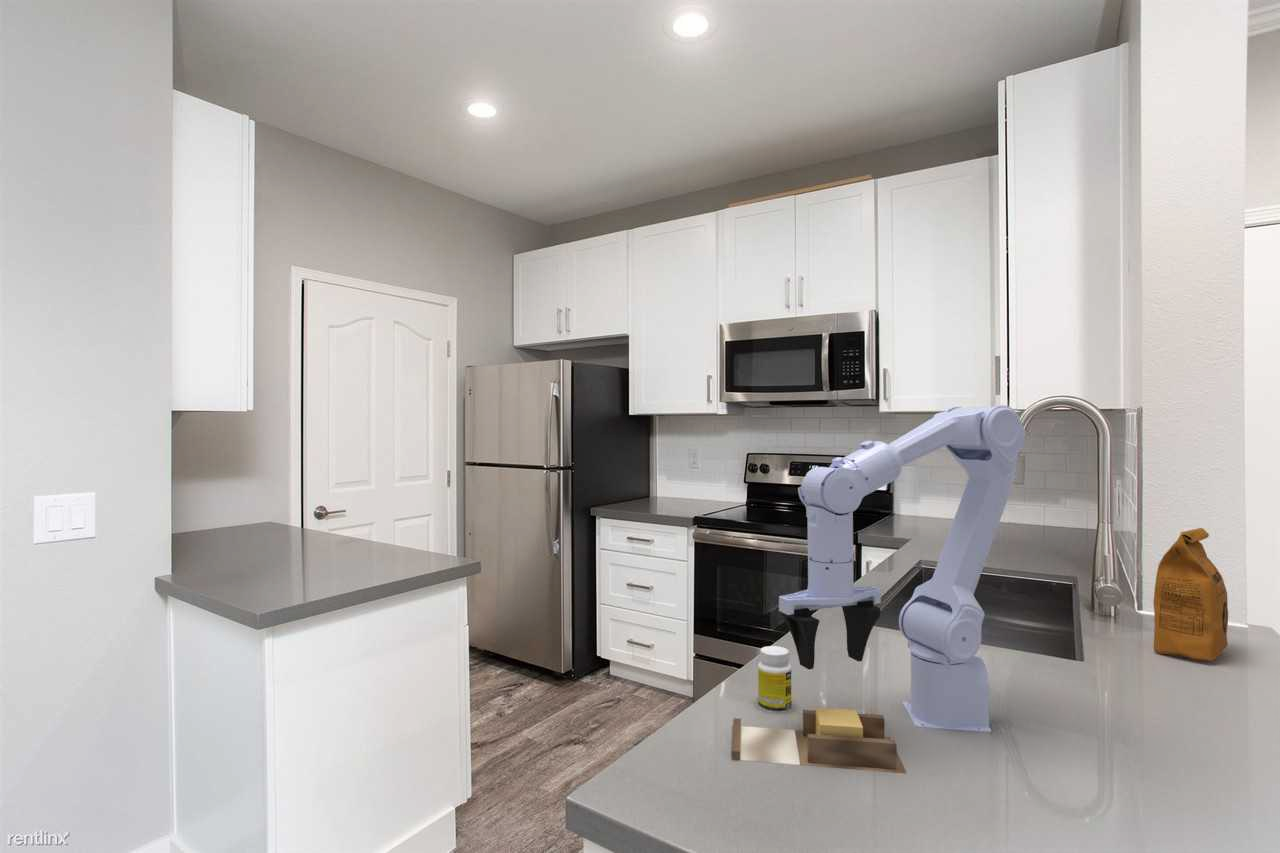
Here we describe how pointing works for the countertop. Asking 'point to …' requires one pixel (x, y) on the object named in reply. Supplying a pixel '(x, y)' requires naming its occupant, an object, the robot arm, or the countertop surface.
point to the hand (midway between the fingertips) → (831, 662)
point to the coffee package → (1190, 601)
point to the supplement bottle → (774, 680)
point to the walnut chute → (819, 746)
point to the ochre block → (838, 722)
